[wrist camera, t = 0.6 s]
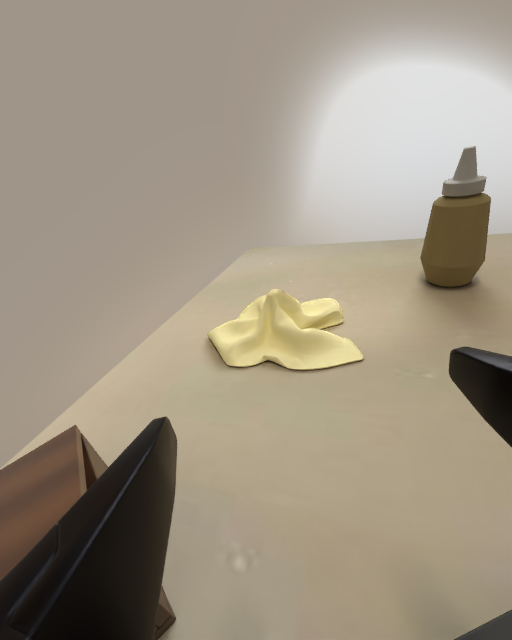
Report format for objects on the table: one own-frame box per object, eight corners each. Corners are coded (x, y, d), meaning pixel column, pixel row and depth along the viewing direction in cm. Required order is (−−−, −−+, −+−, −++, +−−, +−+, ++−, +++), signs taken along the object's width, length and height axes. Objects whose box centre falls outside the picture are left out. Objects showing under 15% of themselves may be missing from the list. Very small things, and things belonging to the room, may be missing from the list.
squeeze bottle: (406, 279, 47) (417, 155, 38) (444, 265, 49) (463, 143, 40) (451, 296, 40) (478, 152, 31) (493, 279, 42) (530, 137, 33)
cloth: (188, 356, 40) (173, 319, 37) (252, 295, 53) (246, 263, 50) (350, 396, 29) (349, 347, 26) (382, 305, 42) (384, 266, 39)
